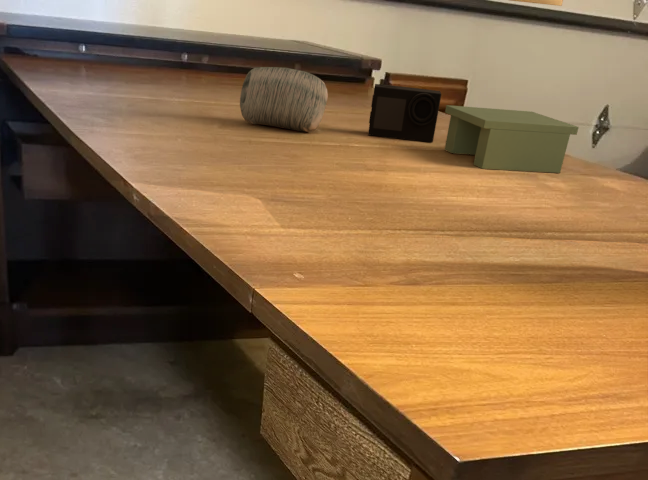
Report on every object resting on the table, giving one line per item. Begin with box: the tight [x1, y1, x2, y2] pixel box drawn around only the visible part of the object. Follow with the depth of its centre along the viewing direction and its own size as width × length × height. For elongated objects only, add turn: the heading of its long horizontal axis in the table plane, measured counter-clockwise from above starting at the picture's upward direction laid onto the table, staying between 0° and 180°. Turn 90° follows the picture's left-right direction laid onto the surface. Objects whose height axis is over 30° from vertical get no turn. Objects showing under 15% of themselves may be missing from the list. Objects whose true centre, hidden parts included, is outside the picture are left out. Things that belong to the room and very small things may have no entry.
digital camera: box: [367, 83, 442, 143], centre depth 128 cm, size 10×5×7 cm, turn 83°
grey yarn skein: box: [239, 66, 329, 133], centre depth 125 cm, size 14×10×10 cm
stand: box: [444, 104, 580, 174], centre depth 118 cm, size 14×14×6 cm
